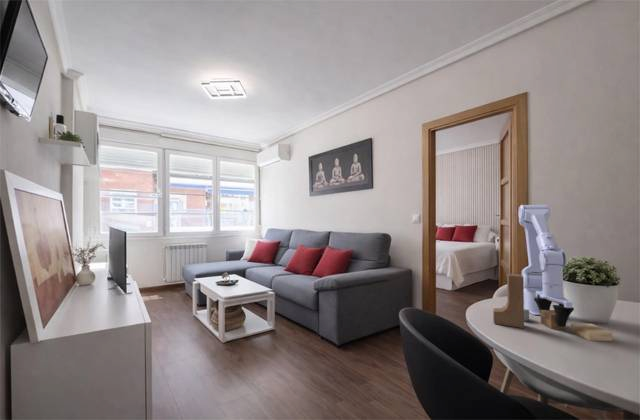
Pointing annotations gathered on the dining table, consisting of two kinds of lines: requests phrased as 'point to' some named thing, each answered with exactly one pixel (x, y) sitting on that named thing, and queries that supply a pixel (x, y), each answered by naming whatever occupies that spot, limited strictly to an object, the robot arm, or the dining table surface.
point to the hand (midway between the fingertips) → (553, 322)
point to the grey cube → (526, 314)
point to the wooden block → (512, 303)
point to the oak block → (591, 332)
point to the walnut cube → (550, 319)
